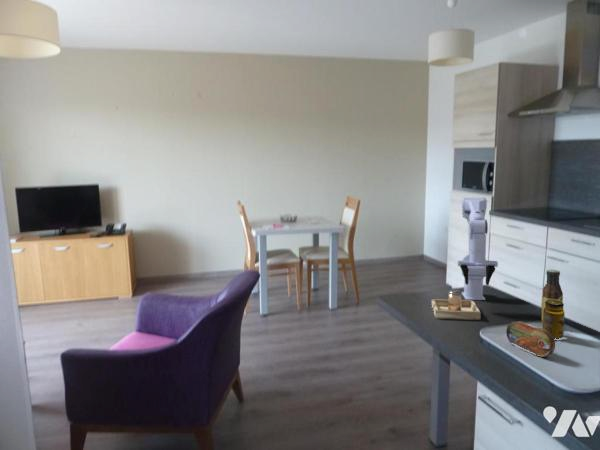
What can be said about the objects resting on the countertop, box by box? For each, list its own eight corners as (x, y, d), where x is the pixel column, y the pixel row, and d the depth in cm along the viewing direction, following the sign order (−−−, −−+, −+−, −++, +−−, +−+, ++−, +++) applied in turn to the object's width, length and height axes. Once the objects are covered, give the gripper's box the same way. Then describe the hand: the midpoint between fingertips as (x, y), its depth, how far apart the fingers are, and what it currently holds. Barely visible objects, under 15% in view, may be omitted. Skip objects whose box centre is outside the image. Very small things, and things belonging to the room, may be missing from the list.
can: (447, 308, 168) (447, 289, 167) (460, 309, 167) (460, 290, 166) (448, 313, 164) (449, 293, 163) (462, 313, 163) (462, 293, 161)
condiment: (569, 339, 138) (571, 304, 136) (545, 342, 137) (547, 306, 135) (553, 331, 145) (555, 297, 143) (530, 333, 144) (532, 299, 142)
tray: (431, 306, 174) (431, 299, 173) (472, 307, 171) (472, 300, 170) (435, 318, 160) (435, 311, 160) (480, 320, 157) (480, 312, 157)
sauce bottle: (564, 329, 146) (567, 273, 143) (544, 328, 147) (547, 273, 145) (557, 322, 153) (560, 268, 150) (538, 321, 154) (540, 268, 151)
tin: (505, 343, 137) (506, 318, 136) (512, 341, 139) (512, 316, 137) (549, 362, 124) (550, 334, 123) (556, 359, 125) (557, 332, 124)
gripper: (460, 252, 163) (459, 286, 165) (500, 252, 160) (499, 287, 162) (456, 248, 169) (456, 281, 171) (495, 248, 167) (494, 282, 169)
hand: (476, 284), depth 167 cm, fingers open, 7 cm apart
